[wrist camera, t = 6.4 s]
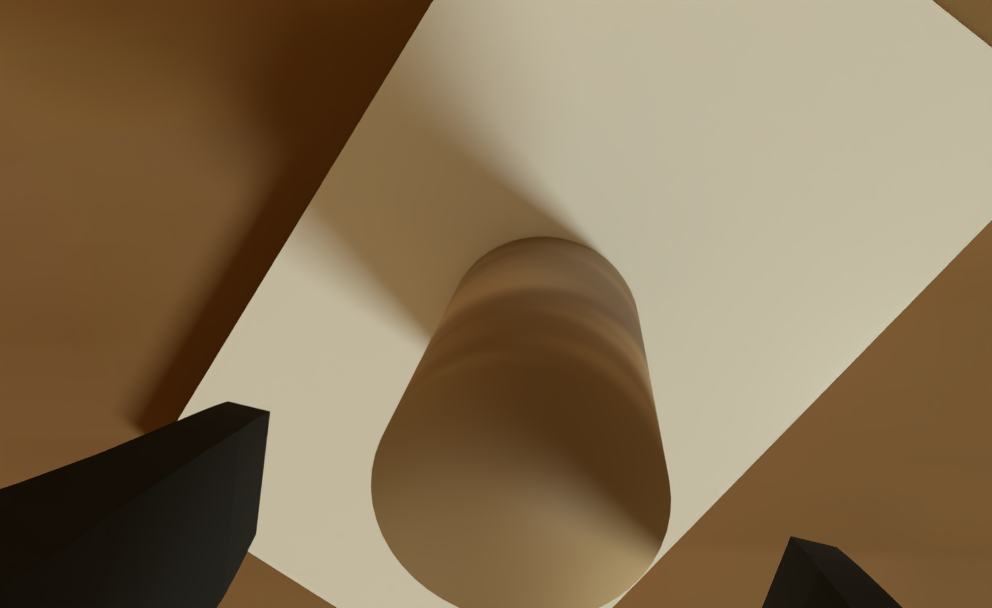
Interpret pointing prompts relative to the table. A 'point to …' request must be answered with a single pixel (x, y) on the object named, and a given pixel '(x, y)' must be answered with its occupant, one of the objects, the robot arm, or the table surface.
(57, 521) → the robot arm
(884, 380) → the table surface
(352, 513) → the ceramic tile
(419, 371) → the oak cylinder
